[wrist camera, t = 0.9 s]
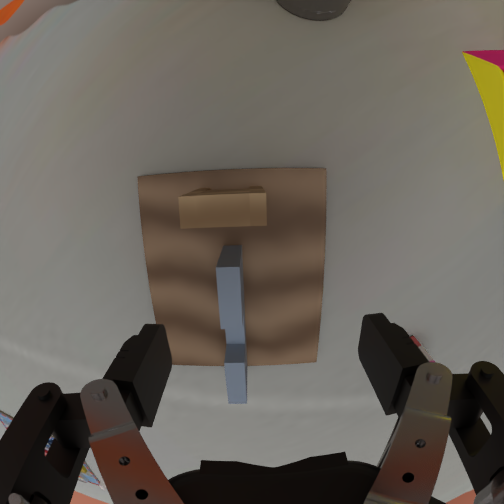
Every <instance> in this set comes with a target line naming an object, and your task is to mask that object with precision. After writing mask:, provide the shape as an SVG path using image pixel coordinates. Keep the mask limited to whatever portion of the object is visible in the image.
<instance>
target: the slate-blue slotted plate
mask: <svg viewBox="0 0 504 504" xmlns="http://www.w3.org/2000/svg"><path fill="white" fill-rule="evenodd" d="M216 277H217V290H218V303H219V314H220V326H221V329H225V332H226V352H225V360H224V366H225V376H226V385H227V393H228V402H229V404H243V403H247V349H246V328H245V305H244V282H243V258H242V245H230V246H223V248H222V251H221V254H220V257H219V259H218V262H217V265H216Z"/></svg>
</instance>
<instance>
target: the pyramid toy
mask: <svg viewBox="0 0 504 504" xmlns="http://www.w3.org/2000/svg"><path fill="white" fill-rule="evenodd" d="M462 53H463V55H464V58H465V60H466V62H467V64H468V66H469V68H470V71H471V73H472V75H473V78H474V80H475V83H476V85H477V88H478V90H479V93H480V95H481V98H482V101H483V104H484V107H485V110H486V113H487V116H488V119H489V122H490V125H491V129H492V132H493V136H494V139H495V143H496V147H497V151H498V155H499V160H500V164H501V169H502V174H503V179H504V50H484V51H464V52H462Z"/></svg>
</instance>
